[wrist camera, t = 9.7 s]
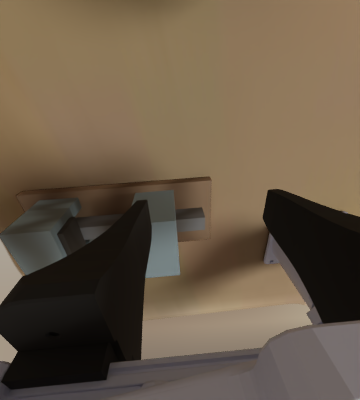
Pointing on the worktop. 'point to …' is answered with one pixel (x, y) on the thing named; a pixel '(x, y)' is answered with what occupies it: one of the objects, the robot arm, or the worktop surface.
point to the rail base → (126, 196)
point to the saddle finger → (162, 234)
